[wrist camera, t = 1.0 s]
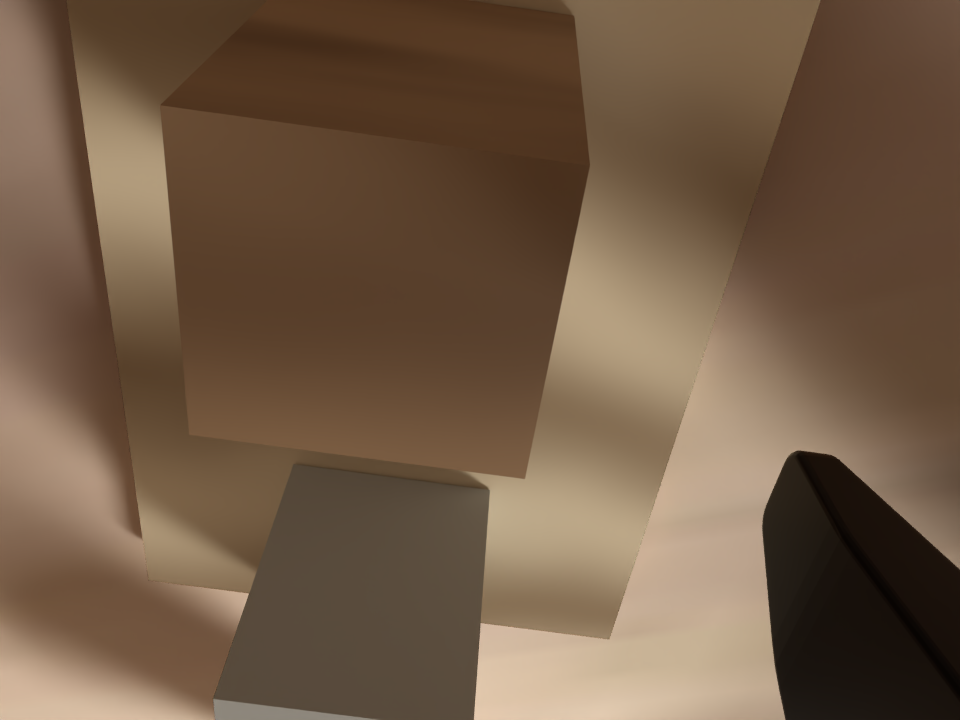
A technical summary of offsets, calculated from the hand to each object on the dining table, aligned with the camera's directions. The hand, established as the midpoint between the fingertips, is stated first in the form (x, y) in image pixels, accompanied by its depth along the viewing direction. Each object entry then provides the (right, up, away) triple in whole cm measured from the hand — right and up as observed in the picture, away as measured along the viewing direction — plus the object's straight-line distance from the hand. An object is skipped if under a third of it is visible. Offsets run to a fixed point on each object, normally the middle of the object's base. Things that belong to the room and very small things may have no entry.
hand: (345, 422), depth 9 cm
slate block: (-1, -4, +13) cm, 13 cm away
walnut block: (0, +5, +6) cm, 8 cm away
